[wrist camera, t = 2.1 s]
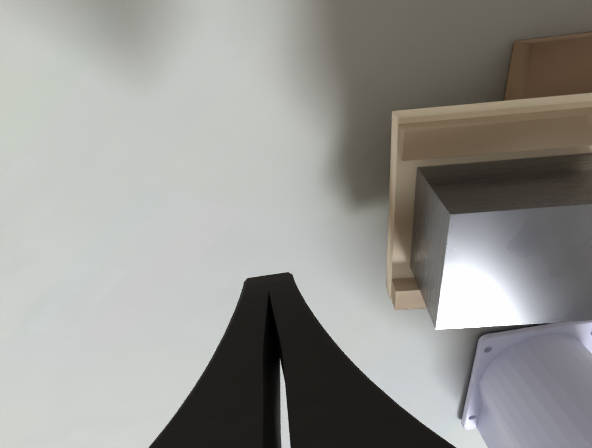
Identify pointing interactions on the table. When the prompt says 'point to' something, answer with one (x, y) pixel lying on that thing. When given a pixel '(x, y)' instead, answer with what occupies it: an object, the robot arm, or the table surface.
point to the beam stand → (550, 67)
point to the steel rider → (504, 241)
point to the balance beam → (470, 157)
